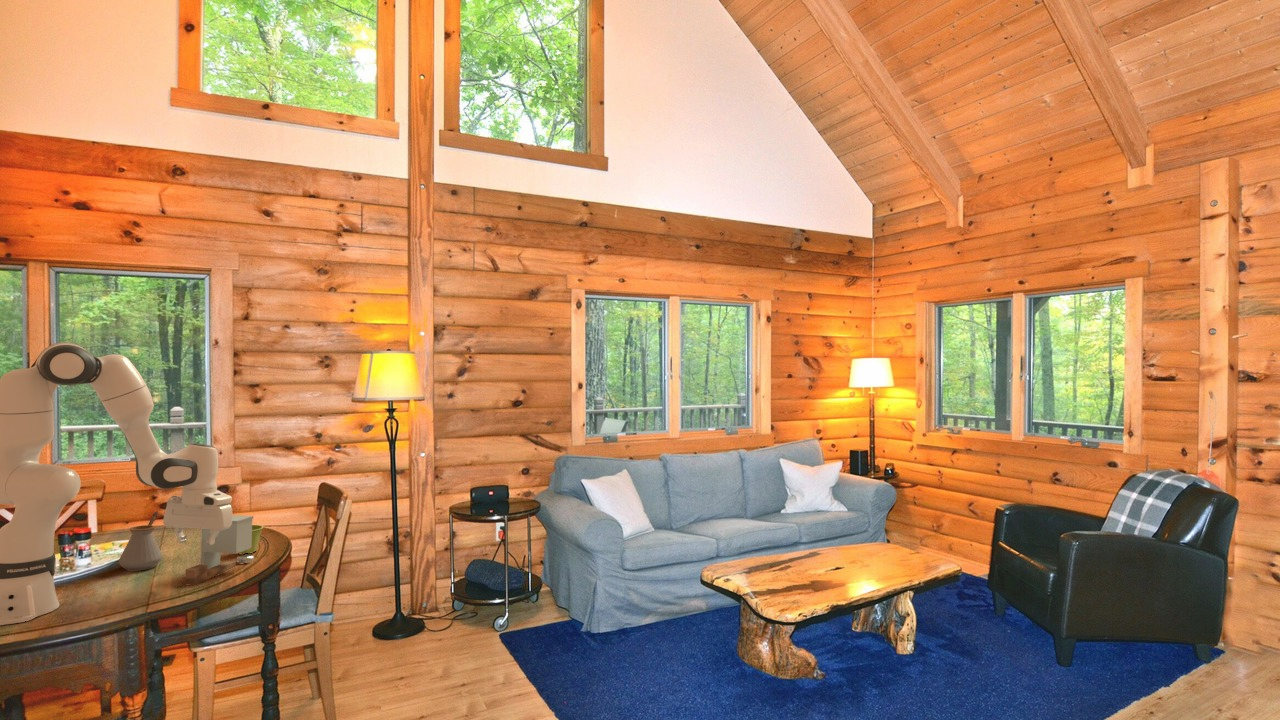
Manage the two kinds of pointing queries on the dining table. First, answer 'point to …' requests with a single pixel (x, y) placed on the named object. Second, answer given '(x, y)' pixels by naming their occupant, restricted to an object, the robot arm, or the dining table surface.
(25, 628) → the dining table surface
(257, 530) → the plant pot
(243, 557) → the steel token
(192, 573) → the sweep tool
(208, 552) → the grey cube on pedestal
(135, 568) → the coffee pot
